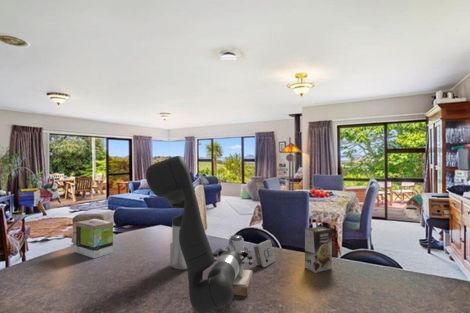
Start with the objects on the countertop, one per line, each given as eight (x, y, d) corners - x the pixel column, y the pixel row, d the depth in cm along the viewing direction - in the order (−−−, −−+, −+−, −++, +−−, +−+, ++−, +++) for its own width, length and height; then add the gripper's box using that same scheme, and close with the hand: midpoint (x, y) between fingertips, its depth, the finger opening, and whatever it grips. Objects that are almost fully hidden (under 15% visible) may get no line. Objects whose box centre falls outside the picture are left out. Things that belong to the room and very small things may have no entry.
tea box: (113, 252, 130) (113, 221, 130) (93, 259, 121) (93, 226, 121) (95, 246, 138) (95, 217, 138) (75, 252, 129) (75, 221, 129)
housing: (227, 275, 95) (227, 238, 95) (230, 269, 100) (230, 234, 100) (242, 276, 94) (242, 239, 94) (244, 270, 99) (244, 235, 99)
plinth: (217, 292, 91) (217, 283, 91) (226, 276, 104) (226, 267, 104) (247, 296, 89) (247, 285, 89) (252, 278, 102) (252, 269, 102)
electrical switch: (264, 268, 112) (262, 245, 112) (253, 266, 115) (252, 243, 115) (275, 261, 119) (274, 239, 120) (265, 259, 122) (264, 238, 123)
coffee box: (315, 273, 107) (315, 232, 107) (304, 267, 112) (304, 228, 112) (332, 269, 111) (332, 229, 111) (320, 263, 117) (320, 225, 116)
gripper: (250, 256, 81) (257, 240, 98) (204, 253, 84) (218, 237, 101) (250, 282, 81) (257, 261, 98) (204, 277, 84) (218, 258, 101)
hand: (237, 249), depth 99 cm, fingers closed on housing, 5 cm apart
